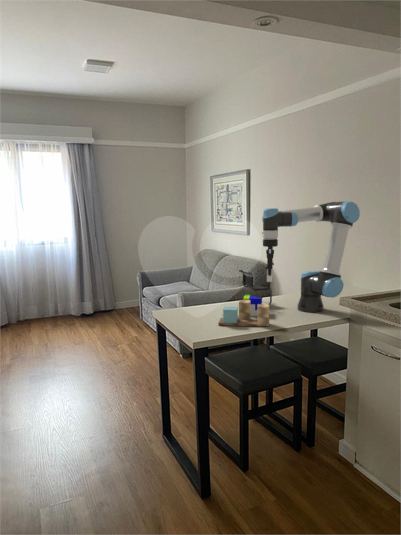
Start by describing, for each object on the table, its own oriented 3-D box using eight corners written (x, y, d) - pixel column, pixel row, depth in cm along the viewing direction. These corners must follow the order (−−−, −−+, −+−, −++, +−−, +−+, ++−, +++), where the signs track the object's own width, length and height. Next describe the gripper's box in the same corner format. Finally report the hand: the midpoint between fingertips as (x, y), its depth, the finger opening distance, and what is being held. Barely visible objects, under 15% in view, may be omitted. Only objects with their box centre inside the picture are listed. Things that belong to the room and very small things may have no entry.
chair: (237, 303, 256) (237, 269, 253) (261, 301, 262) (262, 268, 259) (247, 308, 244) (247, 272, 241) (272, 305, 250) (272, 271, 247)
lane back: (250, 317, 222) (250, 299, 221) (249, 321, 214) (250, 303, 213) (221, 316, 225) (221, 299, 223) (220, 320, 217) (220, 302, 215)
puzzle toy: (260, 316, 226) (261, 298, 225) (243, 315, 228) (243, 298, 227) (261, 311, 236) (261, 295, 234) (244, 311, 238) (244, 294, 236)
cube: (237, 319, 214) (237, 306, 213) (236, 323, 207) (236, 310, 206) (224, 319, 215) (224, 306, 214) (223, 322, 208) (223, 309, 207)
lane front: (268, 322, 212) (269, 303, 211) (269, 326, 204) (269, 307, 203) (220, 320, 216) (219, 302, 215) (218, 325, 208) (218, 306, 207)
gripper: (263, 237, 218) (263, 275, 221) (261, 240, 194) (261, 283, 197) (277, 237, 217) (277, 275, 220) (277, 240, 192) (277, 283, 195)
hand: (269, 279), depth 208 cm, fingers open, 13 cm apart
